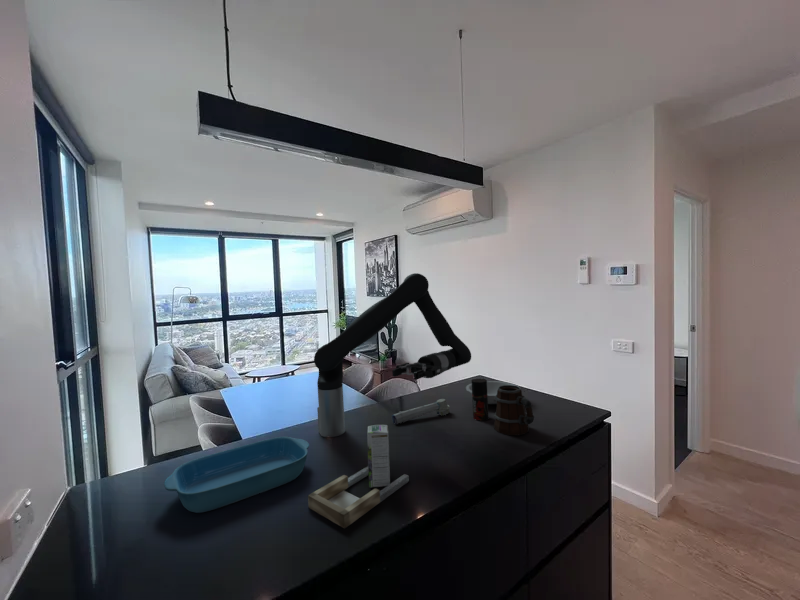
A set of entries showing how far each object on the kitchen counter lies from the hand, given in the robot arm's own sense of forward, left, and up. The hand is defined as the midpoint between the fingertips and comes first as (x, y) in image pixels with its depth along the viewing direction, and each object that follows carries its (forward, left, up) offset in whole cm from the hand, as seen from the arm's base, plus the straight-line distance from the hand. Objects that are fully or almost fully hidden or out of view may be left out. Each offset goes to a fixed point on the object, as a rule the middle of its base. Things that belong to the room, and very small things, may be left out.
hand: (403, 374), depth 106 cm
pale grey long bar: (-16, +30, -26) cm, 43 cm away
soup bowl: (0, +63, -26) cm, 68 cm away
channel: (+2, -16, -26) cm, 30 cm away
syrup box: (+2, -15, -26) cm, 30 cm away
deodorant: (+4, +42, -26) cm, 50 cm away
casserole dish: (-29, -37, -26) cm, 54 cm away
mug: (+20, +37, -26) cm, 49 cm away
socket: (+2, -28, -26) cm, 38 cm away
